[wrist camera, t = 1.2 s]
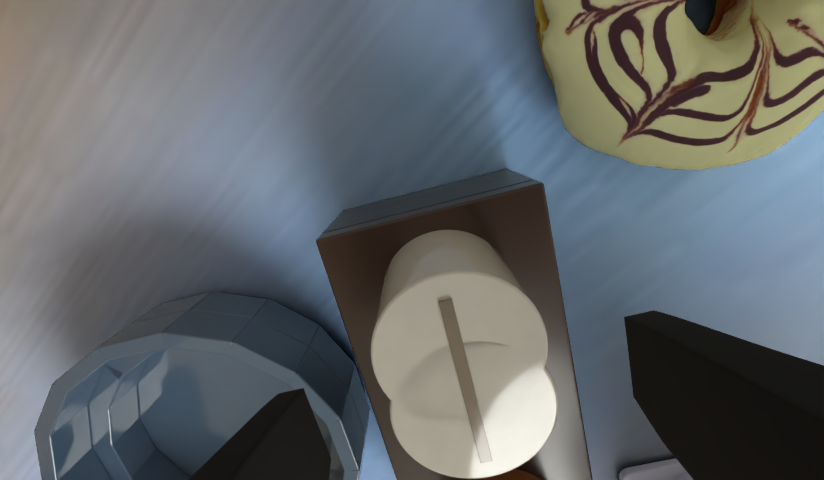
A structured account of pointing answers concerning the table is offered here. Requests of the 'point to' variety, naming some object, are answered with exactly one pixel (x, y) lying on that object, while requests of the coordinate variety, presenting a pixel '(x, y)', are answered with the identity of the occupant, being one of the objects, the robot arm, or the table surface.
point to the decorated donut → (684, 77)
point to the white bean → (462, 358)
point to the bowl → (196, 391)
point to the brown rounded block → (512, 476)
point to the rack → (521, 250)
